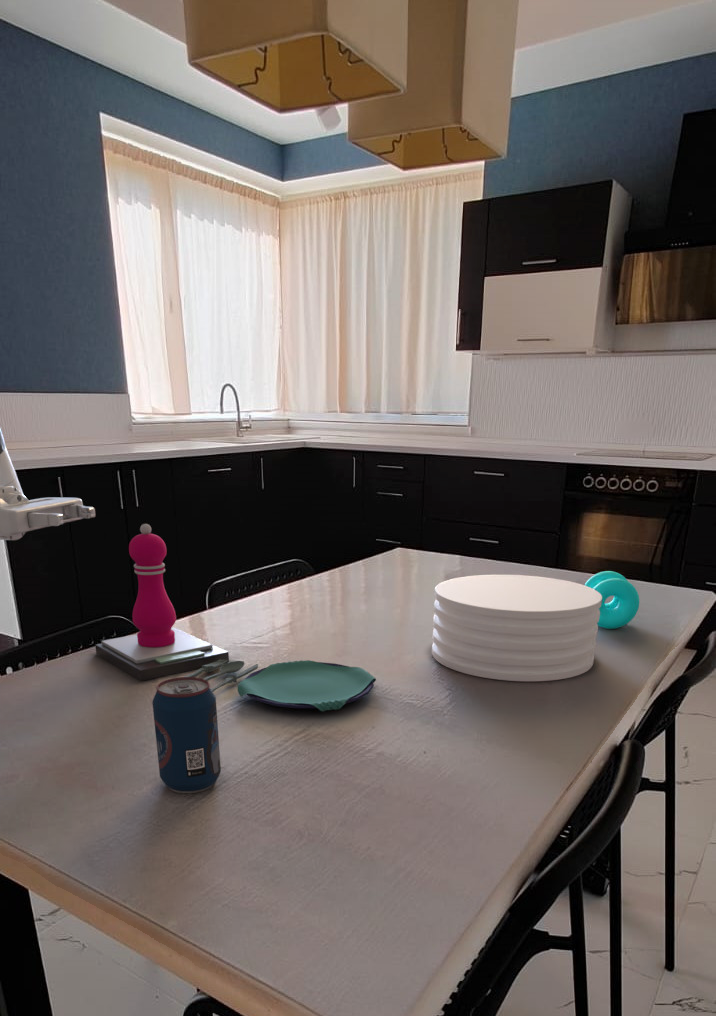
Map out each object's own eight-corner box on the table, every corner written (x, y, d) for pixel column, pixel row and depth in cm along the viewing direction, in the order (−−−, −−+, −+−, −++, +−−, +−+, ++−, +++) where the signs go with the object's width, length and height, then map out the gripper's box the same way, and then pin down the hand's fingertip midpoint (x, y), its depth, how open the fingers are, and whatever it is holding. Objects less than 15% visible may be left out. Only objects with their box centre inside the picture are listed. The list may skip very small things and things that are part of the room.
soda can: (155, 775, 91) (145, 679, 86) (213, 765, 94) (206, 672, 89) (167, 800, 85) (157, 699, 81) (228, 789, 88) (221, 691, 83)
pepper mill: (183, 637, 136) (173, 521, 128) (170, 649, 129) (159, 527, 122) (143, 636, 137) (131, 520, 129) (128, 647, 130) (115, 526, 122)
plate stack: (475, 626, 154) (479, 568, 149) (614, 650, 139) (623, 587, 135) (402, 660, 133) (404, 594, 128) (558, 693, 118) (566, 620, 114)
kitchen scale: (96, 654, 134) (94, 641, 133) (179, 638, 144) (178, 626, 143) (141, 681, 122) (140, 666, 121) (229, 662, 131) (228, 648, 130)
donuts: (625, 618, 160) (633, 570, 156) (636, 631, 151) (644, 580, 147) (577, 616, 161) (583, 569, 157) (584, 629, 152) (591, 579, 148)
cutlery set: (340, 727, 105) (340, 711, 104) (159, 695, 116) (158, 680, 115) (392, 683, 122) (393, 669, 121) (230, 658, 133) (230, 645, 132)
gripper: (44, 524, 141) (112, 527, 138) (-34, 541, 122) (43, 545, 119) (38, 488, 138) (108, 490, 135) (-41, 499, 120) (37, 502, 117)
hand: (77, 516), depth 127 cm, fingers open, 8 cm apart
